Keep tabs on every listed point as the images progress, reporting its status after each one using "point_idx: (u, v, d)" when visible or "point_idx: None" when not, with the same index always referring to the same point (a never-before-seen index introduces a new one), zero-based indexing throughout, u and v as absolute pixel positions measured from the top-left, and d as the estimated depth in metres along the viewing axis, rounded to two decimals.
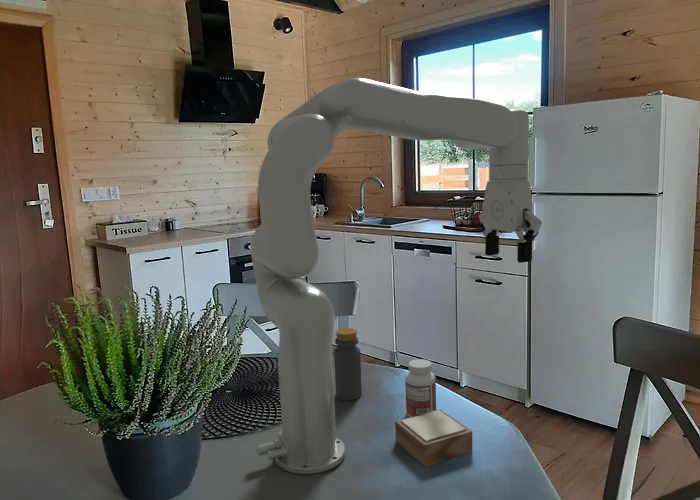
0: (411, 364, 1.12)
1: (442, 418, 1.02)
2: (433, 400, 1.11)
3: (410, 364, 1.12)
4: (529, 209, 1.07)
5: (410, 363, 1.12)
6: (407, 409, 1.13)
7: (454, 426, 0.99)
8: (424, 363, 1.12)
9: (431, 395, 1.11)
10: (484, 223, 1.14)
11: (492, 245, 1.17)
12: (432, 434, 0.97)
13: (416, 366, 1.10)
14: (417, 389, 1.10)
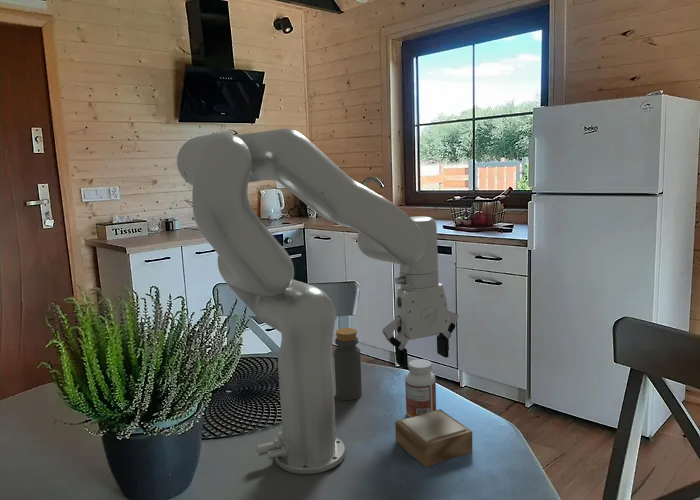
0: (411, 364, 1.12)
1: (442, 418, 1.02)
2: (433, 400, 1.11)
3: (410, 364, 1.12)
4: None
5: (410, 363, 1.12)
6: (407, 409, 1.13)
7: (454, 426, 0.99)
8: (424, 363, 1.12)
9: (431, 395, 1.11)
10: (411, 335, 1.07)
11: None
12: (432, 434, 0.97)
13: (416, 366, 1.10)
14: (417, 389, 1.10)
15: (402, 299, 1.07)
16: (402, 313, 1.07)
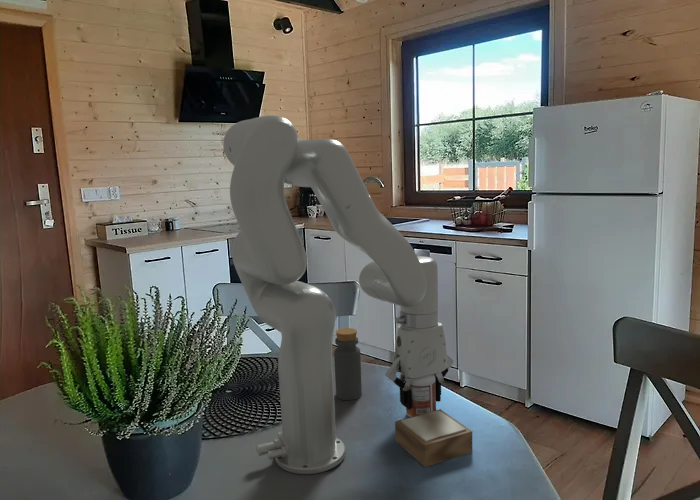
0: None
1: (442, 418, 1.02)
2: (433, 400, 1.11)
3: None
4: None
5: None
6: (407, 409, 1.13)
7: (454, 426, 0.99)
8: None
9: (431, 395, 1.11)
10: (410, 374, 1.08)
11: None
12: (432, 434, 0.97)
13: None
14: (417, 389, 1.10)
15: (402, 338, 1.08)
16: (401, 352, 1.08)
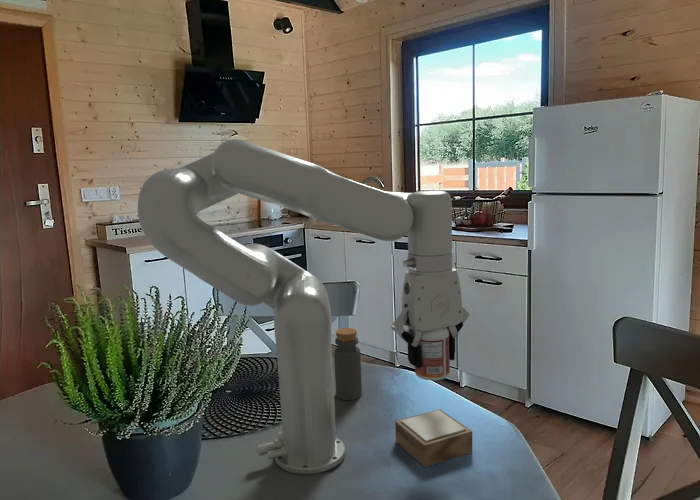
0: None
1: (442, 418, 1.02)
2: (446, 357, 0.96)
3: None
4: None
5: None
6: (416, 368, 0.98)
7: (454, 426, 0.99)
8: None
9: (444, 352, 0.96)
10: (420, 326, 0.93)
11: None
12: (432, 434, 0.97)
13: None
14: (428, 344, 0.95)
15: (410, 284, 0.93)
16: (410, 301, 0.93)
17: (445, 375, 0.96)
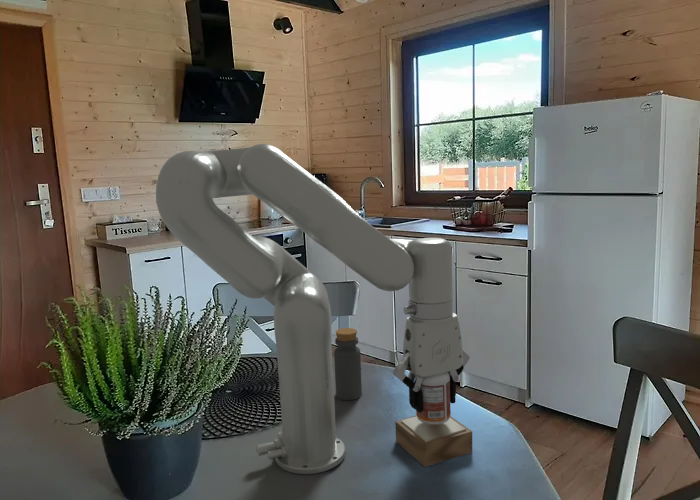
0: None
1: None
2: (447, 402, 0.98)
3: None
4: None
5: None
6: (417, 412, 0.99)
7: (454, 426, 0.99)
8: None
9: (444, 396, 0.97)
10: (421, 373, 0.94)
11: None
12: (432, 434, 0.97)
13: None
14: (429, 390, 0.96)
15: (411, 331, 0.94)
16: (411, 347, 0.95)
17: (446, 419, 0.98)
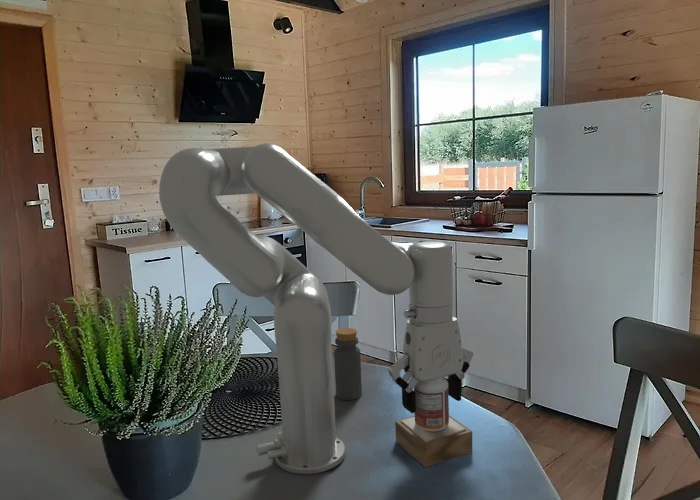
0: None
1: None
2: (446, 409, 0.98)
3: None
4: None
5: None
6: (416, 419, 0.99)
7: (454, 426, 0.99)
8: None
9: (443, 404, 0.97)
10: (420, 376, 0.95)
11: None
12: (432, 434, 0.97)
13: None
14: (427, 397, 0.96)
15: (411, 335, 0.95)
16: (411, 351, 0.95)
17: (444, 426, 0.98)
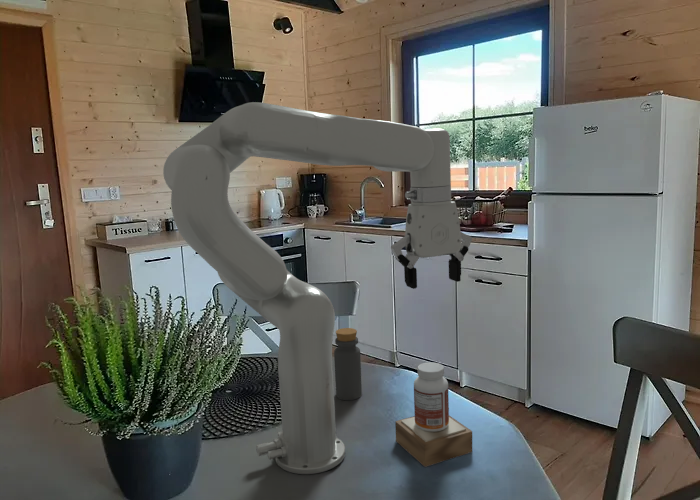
0: (420, 368, 0.98)
1: None
2: (446, 409, 0.98)
3: (419, 368, 0.98)
4: None
5: (419, 367, 0.99)
6: (416, 419, 0.99)
7: (454, 426, 0.99)
8: (435, 367, 0.98)
9: (443, 404, 0.97)
10: (421, 252, 1.02)
11: None
12: (432, 434, 0.97)
13: (426, 371, 0.97)
14: (427, 397, 0.96)
15: (412, 214, 1.02)
16: (412, 229, 1.03)
17: (444, 426, 0.98)
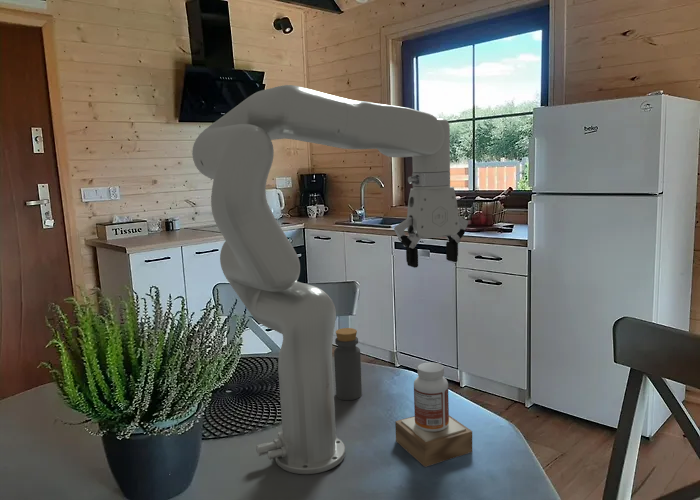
0: (420, 368, 0.98)
1: None
2: (446, 409, 0.98)
3: (419, 368, 0.98)
4: None
5: (419, 367, 0.99)
6: (416, 419, 0.99)
7: (454, 426, 0.99)
8: (435, 367, 0.98)
9: (443, 404, 0.97)
10: (422, 233, 1.10)
11: None
12: (432, 434, 0.97)
13: (426, 371, 0.97)
14: (427, 397, 0.96)
15: (414, 197, 1.10)
16: (414, 211, 1.10)
17: (444, 426, 0.98)
